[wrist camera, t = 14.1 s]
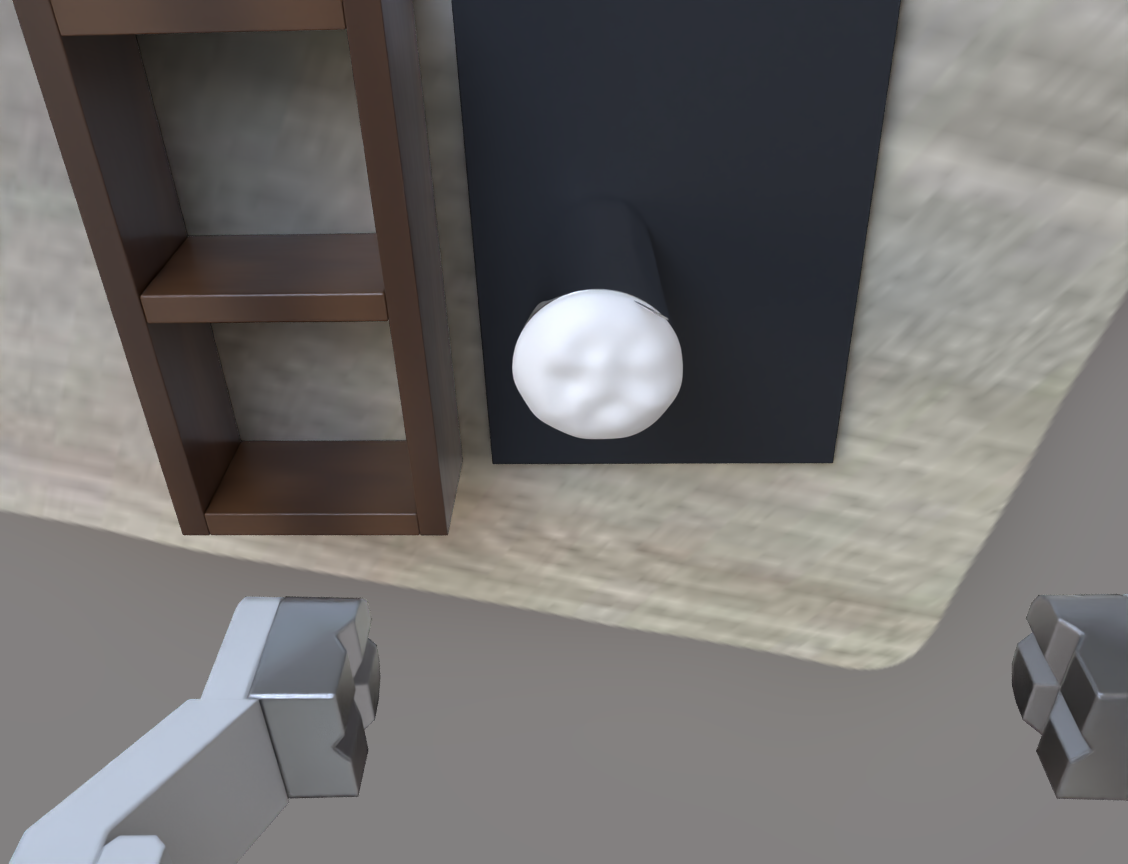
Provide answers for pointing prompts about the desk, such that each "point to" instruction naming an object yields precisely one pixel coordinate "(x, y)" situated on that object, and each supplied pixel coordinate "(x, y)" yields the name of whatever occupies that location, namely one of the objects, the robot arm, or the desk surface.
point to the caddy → (259, 270)
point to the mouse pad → (683, 199)
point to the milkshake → (598, 328)
